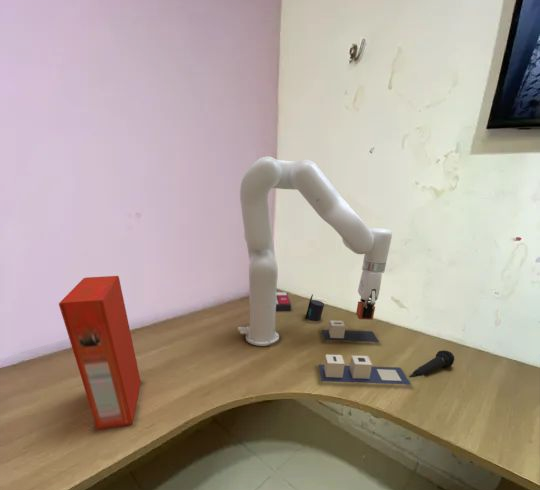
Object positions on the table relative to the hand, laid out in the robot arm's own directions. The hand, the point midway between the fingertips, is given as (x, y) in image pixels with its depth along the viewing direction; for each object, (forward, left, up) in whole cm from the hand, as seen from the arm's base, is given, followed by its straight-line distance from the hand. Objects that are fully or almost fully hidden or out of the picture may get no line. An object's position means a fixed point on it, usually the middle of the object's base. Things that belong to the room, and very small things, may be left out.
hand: (364, 314), depth 114 cm
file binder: (-72, -43, -10) cm, 85 cm away
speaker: (-16, +16, -10) cm, 25 cm away
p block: (-6, -26, -9) cm, 28 cm away
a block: (-9, 0, -9) cm, 13 cm away
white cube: (-14, -26, -9) cm, 31 cm away
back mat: (-4, 0, -10) cm, 11 cm away
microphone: (+17, -21, -10) cm, 28 cm away
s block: (0, 0, -1) cm, 1 cm away
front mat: (-5, -26, -10) cm, 28 cm away
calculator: (-32, +32, -10) cm, 47 cm away
